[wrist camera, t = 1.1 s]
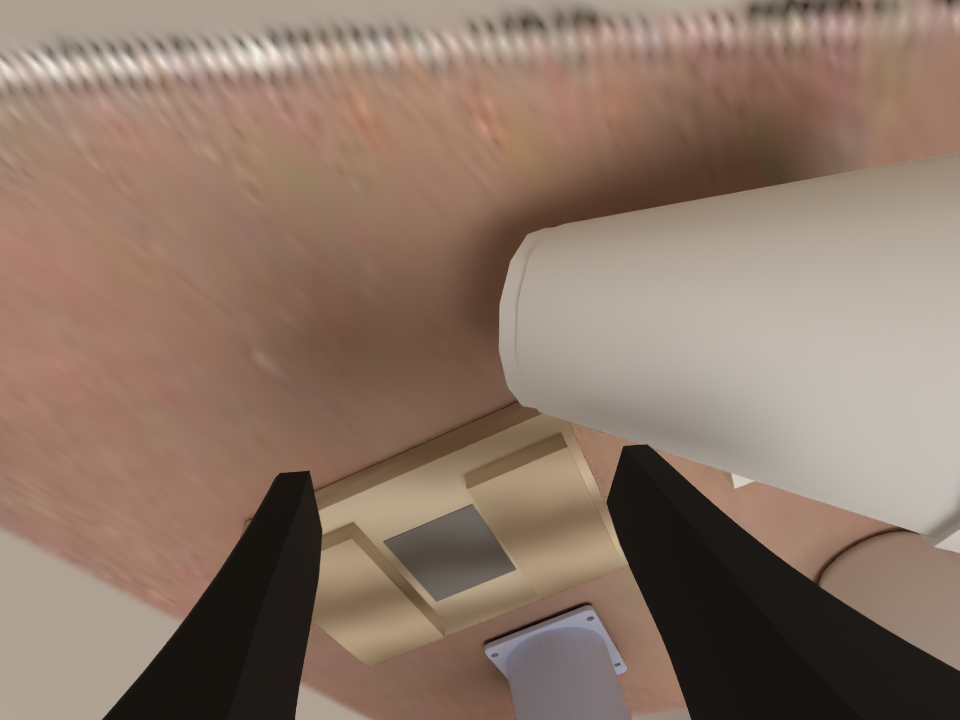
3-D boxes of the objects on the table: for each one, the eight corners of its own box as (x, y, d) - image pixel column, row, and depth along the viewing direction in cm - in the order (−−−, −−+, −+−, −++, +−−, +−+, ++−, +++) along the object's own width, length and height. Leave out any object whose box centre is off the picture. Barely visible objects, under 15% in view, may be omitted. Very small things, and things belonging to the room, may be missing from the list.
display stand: (621, 542, 30) (638, 578, 28) (376, 640, 32) (374, 681, 29) (552, 386, 23) (567, 418, 21) (245, 521, 25) (230, 564, 23)
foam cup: (595, 358, 23) (975, 397, 16) (509, 507, 17) (1069, 672, 10) (572, 145, 18) (1102, 76, 11) (436, 245, 12) (1449, 221, 5)
